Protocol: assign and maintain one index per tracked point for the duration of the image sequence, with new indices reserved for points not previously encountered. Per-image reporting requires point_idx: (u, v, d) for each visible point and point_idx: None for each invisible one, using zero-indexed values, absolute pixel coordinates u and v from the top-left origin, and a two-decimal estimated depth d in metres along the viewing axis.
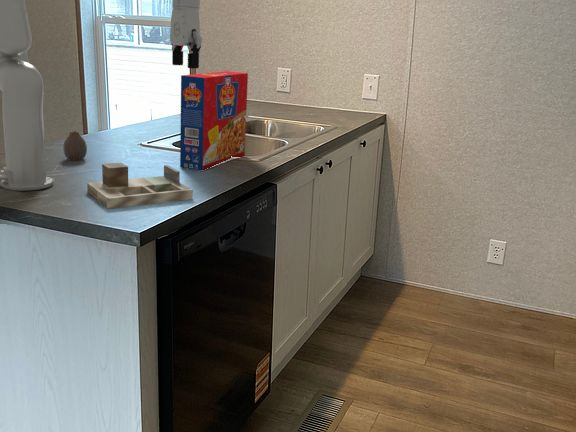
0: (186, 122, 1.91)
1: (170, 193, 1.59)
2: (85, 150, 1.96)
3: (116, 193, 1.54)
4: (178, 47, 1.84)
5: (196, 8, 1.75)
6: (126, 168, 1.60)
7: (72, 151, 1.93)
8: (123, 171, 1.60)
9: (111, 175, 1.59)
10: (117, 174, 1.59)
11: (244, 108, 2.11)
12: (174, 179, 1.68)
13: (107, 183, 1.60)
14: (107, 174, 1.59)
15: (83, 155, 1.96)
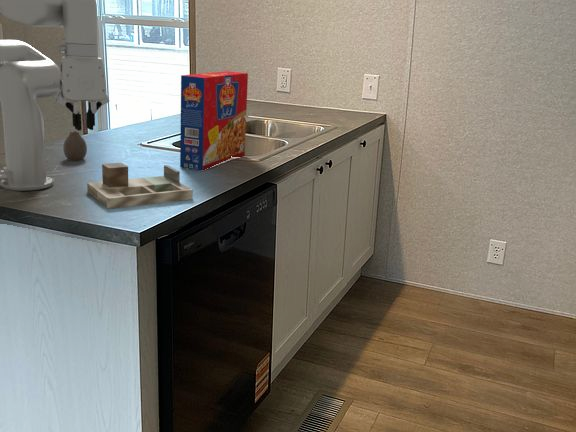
0: (186, 122, 1.91)
1: (170, 193, 1.59)
2: (85, 150, 1.96)
3: (116, 193, 1.54)
4: None
5: None
6: (126, 168, 1.60)
7: (72, 151, 1.93)
8: (123, 171, 1.60)
9: (111, 175, 1.59)
10: (117, 174, 1.59)
11: (244, 108, 2.11)
12: (174, 179, 1.68)
13: (107, 183, 1.60)
14: (107, 174, 1.59)
15: (83, 155, 1.96)
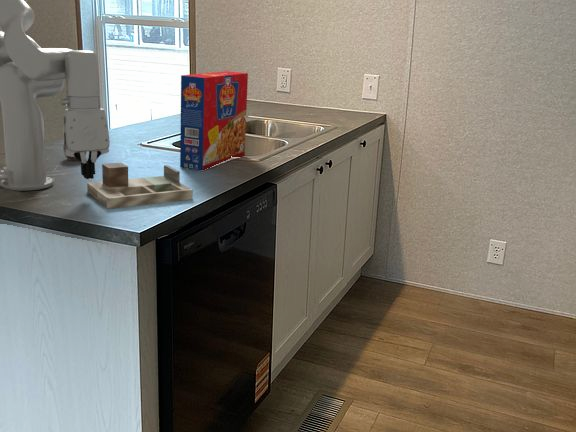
0: (186, 122, 1.91)
1: (170, 193, 1.59)
2: None
3: (116, 193, 1.54)
4: None
5: None
6: (126, 168, 1.60)
7: None
8: (123, 171, 1.60)
9: (111, 175, 1.59)
10: (117, 174, 1.59)
11: (244, 108, 2.11)
12: (174, 179, 1.68)
13: (107, 183, 1.60)
14: (107, 174, 1.59)
15: None
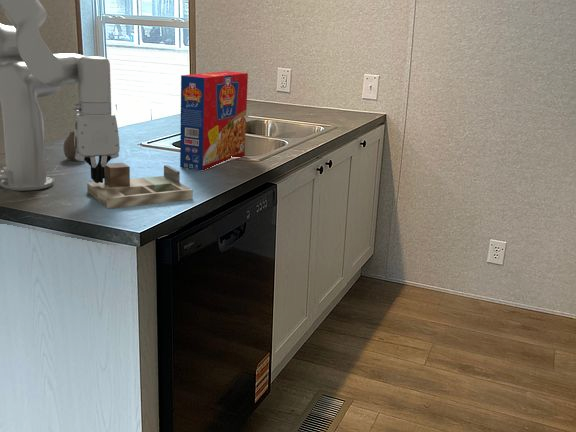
0: (186, 122, 1.91)
1: (170, 193, 1.59)
2: None
3: (116, 193, 1.54)
4: None
5: None
6: (128, 168, 1.60)
7: (72, 151, 1.93)
8: (125, 171, 1.60)
9: (112, 175, 1.59)
10: (118, 173, 1.59)
11: (244, 108, 2.11)
12: (174, 179, 1.68)
13: (109, 183, 1.60)
14: (109, 174, 1.59)
15: None
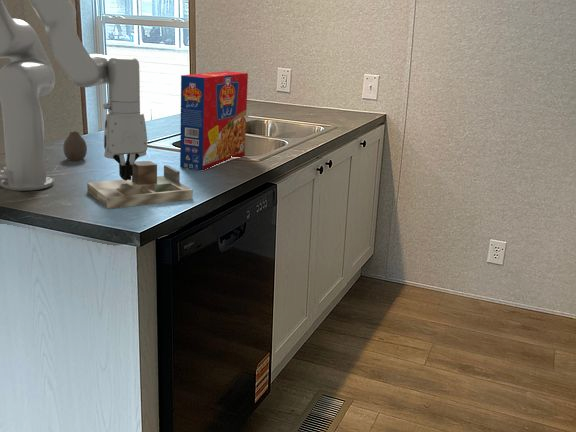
0: (186, 122, 1.91)
1: (170, 193, 1.59)
2: (85, 150, 1.96)
3: (116, 193, 1.54)
4: None
5: None
6: (155, 166, 1.64)
7: (72, 151, 1.93)
8: (153, 169, 1.64)
9: (140, 173, 1.63)
10: (146, 171, 1.63)
11: (244, 108, 2.11)
12: (174, 179, 1.68)
13: (136, 180, 1.64)
14: (137, 172, 1.63)
15: (83, 155, 1.96)
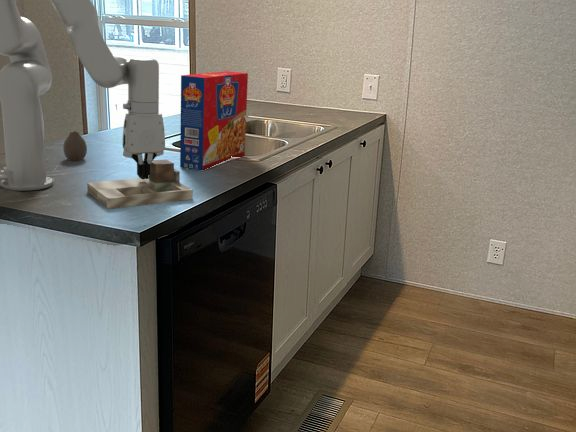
0: (186, 122, 1.91)
1: (170, 193, 1.59)
2: (85, 150, 1.96)
3: (116, 193, 1.54)
4: None
5: None
6: (172, 165, 1.67)
7: (72, 151, 1.93)
8: (170, 168, 1.67)
9: (158, 171, 1.65)
10: (163, 170, 1.66)
11: (244, 108, 2.11)
12: (174, 179, 1.68)
13: (154, 179, 1.67)
14: (154, 170, 1.66)
15: (83, 155, 1.96)
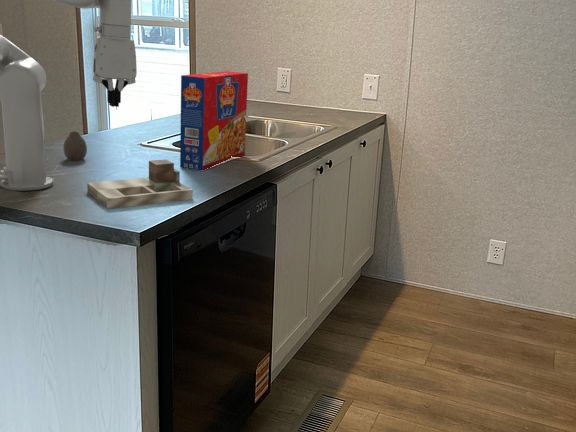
0: (186, 122, 1.91)
1: (170, 193, 1.59)
2: (85, 150, 1.96)
3: (116, 193, 1.54)
4: None
5: None
6: (172, 165, 1.67)
7: (72, 151, 1.93)
8: (170, 168, 1.67)
9: (158, 171, 1.65)
10: (163, 170, 1.66)
11: (244, 108, 2.11)
12: (174, 179, 1.68)
13: (154, 179, 1.67)
14: (154, 170, 1.66)
15: (83, 155, 1.96)
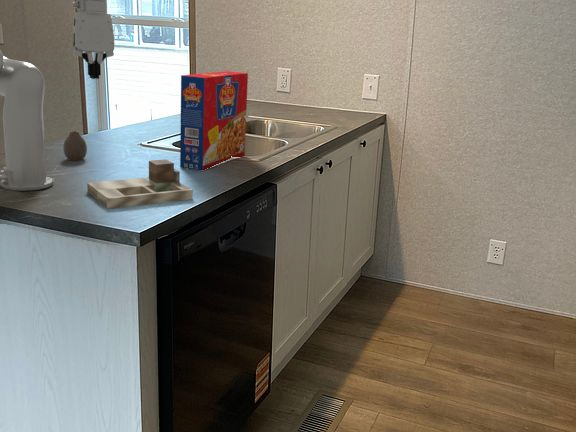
0: (186, 122, 1.91)
1: (170, 193, 1.59)
2: (85, 150, 1.96)
3: (116, 193, 1.54)
4: None
5: None
6: (172, 165, 1.67)
7: (72, 151, 1.93)
8: (170, 168, 1.67)
9: (158, 171, 1.65)
10: (163, 170, 1.66)
11: (244, 108, 2.11)
12: (174, 179, 1.68)
13: (154, 179, 1.67)
14: (154, 170, 1.66)
15: (83, 155, 1.96)
